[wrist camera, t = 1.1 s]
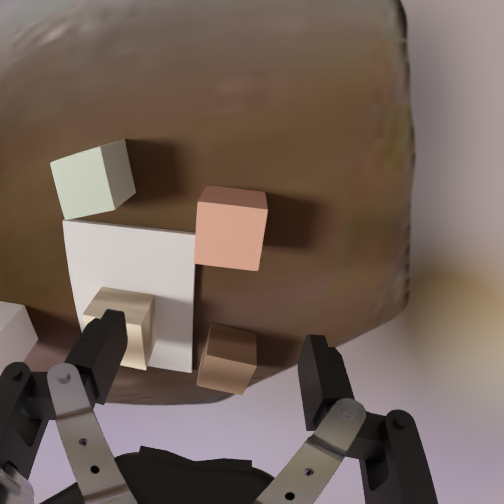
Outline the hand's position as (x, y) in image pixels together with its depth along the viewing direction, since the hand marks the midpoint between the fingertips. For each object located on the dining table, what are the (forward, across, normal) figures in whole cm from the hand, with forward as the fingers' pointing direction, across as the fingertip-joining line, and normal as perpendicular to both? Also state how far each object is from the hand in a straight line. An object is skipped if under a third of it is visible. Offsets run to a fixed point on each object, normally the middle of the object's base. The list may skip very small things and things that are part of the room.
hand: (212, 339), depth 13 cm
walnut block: (+16, -1, +15) cm, 22 cm away
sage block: (+16, +12, -3) cm, 20 cm away
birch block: (+15, +10, +12) cm, 22 cm away
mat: (+16, +10, +11) cm, 22 cm away
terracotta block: (+16, 0, 0) cm, 16 cm away
